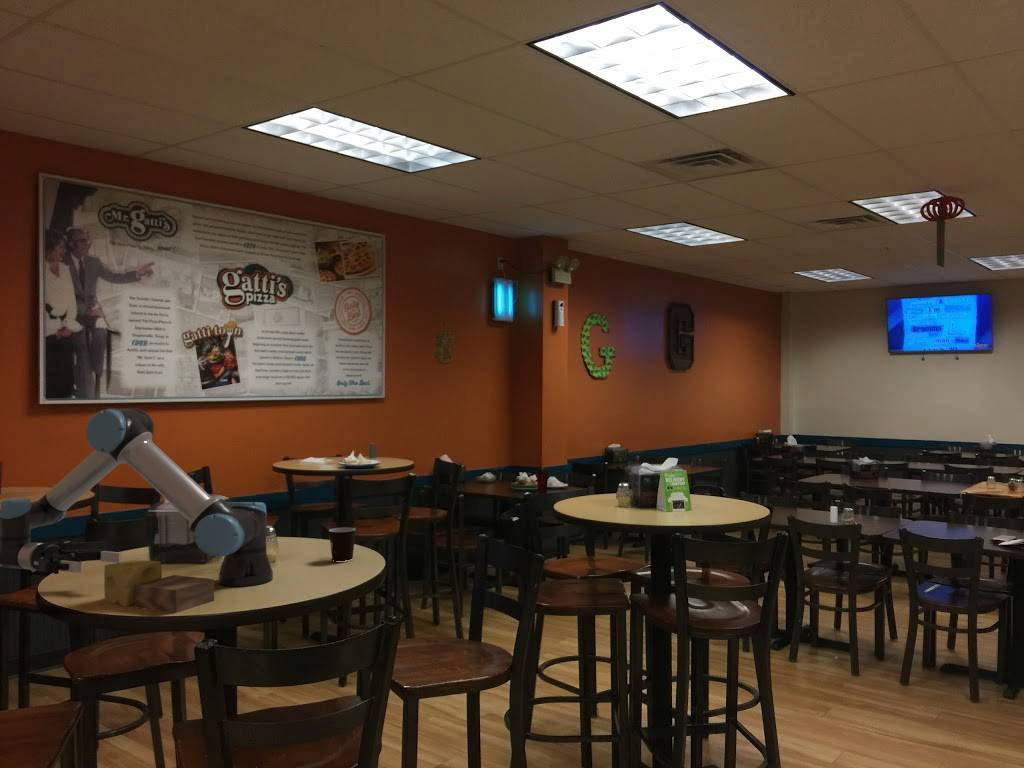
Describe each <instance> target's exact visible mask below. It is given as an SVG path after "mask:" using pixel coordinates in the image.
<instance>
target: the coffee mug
mask: <svg viewBox="0 0 1024 768" xmlns="http://www.w3.org/2000/svg"><path fill="white" fill-rule="evenodd" d="M356 532H357V531H356V528H355V527H336V528H330V529H329V530H328V536H329V542H330V550H331V560H334V561H345V560H350V559H352V558H353V559H354V548H355V541H356V540H355V539H356Z"/></svg>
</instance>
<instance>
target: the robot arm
mask: <svg viewBox="0 0 1024 768" xmlns="http://www.w3.org/2000/svg"><path fill="white" fill-rule="evenodd" d="M85 430H86V435H85V436H86V440H87V442H88V444H89V446H90V447H91V448H92V449H93V451H92V452H91V453H90V454H89V455H88V456H87V457H86V458H84V459H83V460H82V461H81V462H80V463H79V464H77V466H75V467H74V468H73V469H72V470H71V471H70V472H69V473H68V474H66V475H65V476H64V477H63V478H62V479H61V480H60V481H59V482H57V484H55V485H54V486H53V487H52V488H51V489H50V490H48V491H47V492H46V494H44V495H43V496H42V497H41V498H40V499H38V500H36V501H33V502H32V500H31V498H27V497H12V498H6V499H3V500H2V501H1V503H0V568H1V567H3V568H6V569H16V570H17V569H19V570H30V571H31V572H32V573H34V572H35V571H39V572H45V573H51V572H53V575H58V574H59V573H60V572H66V573H77V574H80V573H81V574H82V562H90V561H91V562H92V561H100V562H105V563H106V562H107V563H114V564H115V563H120V562H122V552H119V551H118V552H117V551H109V549H108V548H105V547H103V548H102V549H72V550H68V549H67V550H66V549H61V548H60V546H59V545H57V544H55V543H45V542H44V543H43V542H32V541H31V537H32V534H31V532H32V529H35V528H41V527H45V526H49V525H54V524H56V523H58V522H60V521H61V520H63V519H64V518H65V517H66V514H67V511H68V510H69V509H70V508H71V506H73V505H74V504H75V503H76V502H78V501H79V500H80V499H81V498H83V496H84V495H86V493H88V492H89V491H90V490H91V489H93V488H94V486H96V485H97V484H98V483H99V482H101V481H102V479H104V478H105V477H106V476H107V475H108V474H109V473H111V472H112V471H113V470H114V469H115V468H116V467H117V466H119V465H120V464H122V465H123V464H127V465H128V466H129V467H131V468H132V469H133V470H134V471H135V472H136V473H137V474H138V475H139V476H141V477H142V479H144V480H145V482H147V483H148V484H149V485H150V486H151V487H152V488H153V489H154V490H155V491H157V492H158V493H159V495H160V496H162V497H163V498H164V499H165V500H166V501H167V502H168V503H170V505H171V506H172V507H173V508H174V509H176V510H177V511H178V512H179V513H180V514H181V515H182V516H183V517H184V518H185V519H186V520H187V521H188V530H189V531H190V532H191V533H192V534H194V537H195V544H196V546H197V547H198V549H199V550H201V552H202V553H204V554H205V555H208V556H212V557H224V558H223V561H222V564H221V566H220V570H219V572H218V573H219V574H218V584H220V585H222V586H226V587H246V586H247V587H248V586H255V585H256V586H257V585H261V584H265V583H269V582H272V580H273V579H274V572H273V568H272V567H271V566H272V565H271V562H270V560H269V556H268V553H267V517H268V513H267V506H266V503H264V502H262V501H261V502H259V501H258V502H257V501H252V502H251V501H250V502H249V501H245V502H244V501H239V502H237V501H232V502H231V501H228V502H226V501H225V500H224V499H223V498H222V497H215V498H213V497H212V496H211V495H210V494H209V493H207V491H205V490H204V489H203V487H201V486H200V485H199V484H198V483H197V482H196V481H195V480H194V478H191V476H190V475H189V474H187V473H186V471H185V470H183V469H182V468H181V467H180V466H179V465H178V464H177V463H176V462H175V461H173V459H171V457H169V456H168V455H167V454H166V453H165V452H164V451H163V450H162V449H160V447H158V445H156V444H155V443H154V442H153V437H154V433H155V423H154V421H153V419H152V416H150V414H149V413H147V412H146V411H144V410H143V409H140V408H136V407H129V408H110V407H109V408H106V409H102V410H100V411H97V412H96V413H94V414H93V415H92V416H91V417H90V419H89V420H88V423H87V425H86V428H85Z"/></svg>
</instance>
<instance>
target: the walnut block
mask: <svg viewBox="0 0 1024 768" xmlns="http://www.w3.org/2000/svg"><path fill="white" fill-rule="evenodd" d="M214 601H215V579H214V578H208V577H207V578H206V577H205V578H204V577H196V576H188V575H187V576H185V575H176V574H173V575H169V576H165V577H162V578H161V579H157V580H153V581H150V582H146V583H142V584H138V585H135V604H134V607H139V608H138V609H142V608H146V609H145V610H150V609H153V610H152V611H157V610H159V611H158V612H165V611H166V612H165V613H175V614H178V613H181V612H184V611H186V610H191V609H193V608H196V607H200V606H202V605H205V604H208V603H212V602H214Z"/></svg>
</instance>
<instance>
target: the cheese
mask: <svg viewBox="0 0 1024 768" xmlns="http://www.w3.org/2000/svg"><path fill="white" fill-rule="evenodd" d="M161 562H162V561H159V560H157V561H155V560H145V559H140V558H136V559H130V560H126V561H121V562H120V563H115V562H114V563H110V564H105V565H104V573H103V575H104V577H103V578H104V579H103V580H104V584H103V587H104V588H103V589H104V601H105V603H110V602H111V603H110V604H119V605H120V606H123V605H124V606H123V607H126V606H127V607H130V606H129V605H131V606H134V605H135V585H138V584H142V583H146V582H150V581H153V580H157V579H161V578H163V576H162V575H163V574H162V564H161ZM133 604H134V605H133Z"/></svg>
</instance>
